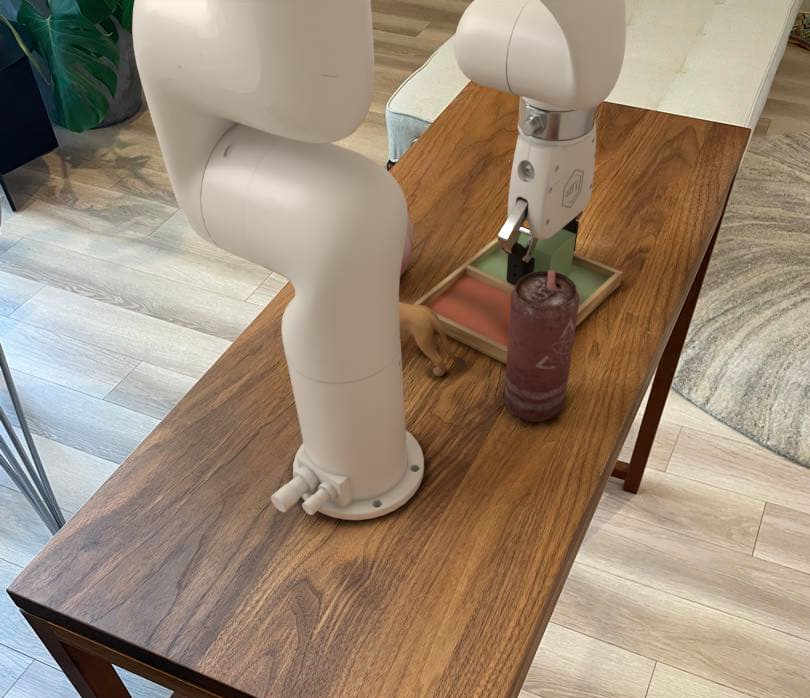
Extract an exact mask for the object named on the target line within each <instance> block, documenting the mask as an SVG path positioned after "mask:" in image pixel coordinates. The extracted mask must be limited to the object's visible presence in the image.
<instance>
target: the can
mask: <svg viewBox="0 0 810 698" xmlns="http://www.w3.org/2000/svg"><path fill="white" fill-rule="evenodd" d="M578 308H579V294H578V292H577V289H576V285H575V284H574V282H573V281H572V280H571V279H570V278H569V277H567V276H565V275H563V274H561V273H557V272H555V271H554V270H549V271H537V272H532V273H530V274H527V275H525V276H523V277H522V278H521V279H520V280H519V281H518V283H517V284H516V286H515V288H514V290H513V291H512V293H511V305H510V319H509V334H508V348H507V362H506V364H505V378H504V392H503V403H504V404H505V407H506V409H507V410H508V411H509V412H510V413H511V414H512V415H513V416H514V417H516V418H518V419H520V420H521V421H525V422H529V423H531V422H532V423H540V422H545V421H548V420H549V419H552V418H554V417H555V416H556V415H557V414H558V413H560V412H561V411H562V410H563V407H564V405H565V401H566V393H567V387H568V380H569V373H570V367H571V361H572V360H571V359H572V355H573V347H574V341H575V335H576V327H577V326H576V321H577V314H578Z"/></svg>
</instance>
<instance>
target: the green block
mask: <svg viewBox="0 0 810 698" xmlns="http://www.w3.org/2000/svg"><path fill="white" fill-rule="evenodd" d="M528 228H529V229H530V227H529V226H528ZM529 237H530V236H528V235H526V234H524V233H522V234H521V235H520V237H519V240H518V243H519V244H521V245H522V246H523V247H524V248H525V247H526V245H527V242H528V240H529ZM575 238H576V234H574V233H571V232H569V231H566V230H564V229H560V230H559V231H558V232H557V233H555V234H554V235H553V236H551V237H550V238H548V239H546V240H543V241H541V240H539V239H538V242H537V244H536V247H535V249H534V252H533V255H532V257H533V258H535V266H534V272H537V271H549V270H554V271H555V272H557V273H561V274H563V275H565V276H567V275H568V274H570V273H571V267H572V260H573V252H574V253H575V251H574V245H575Z"/></svg>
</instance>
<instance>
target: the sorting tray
mask: <svg viewBox="0 0 810 698" xmlns="http://www.w3.org/2000/svg"><path fill="white" fill-rule="evenodd" d="M521 234H522V233H521ZM507 263H508V254H506V253H505V251H504V250H503V249H502V246H501V244H500V243H499V241H498V236H497V237H495V238H494V239H493V240H491V241H490V242H489V243H488V244H486V245H485V246H484V247H483V248H481V249H480V250H479V251H478V252H476V253H475V254H474V255H473V256H471V257H470V258H469V259H467V261H465V262H464V263H463V264H461V265H460V266H459V267H458V268H456V269H455V270H454V271H453V272H452V273H450V274H449V275H448V276H447V277H445V278H444V279H442V280H441V281H440V282H439V283H437V284H436V285H435V286H434V287H432V288H431V289H430V290H429V291H427V293H425V294H424V295H422V296H421V297H420V298H419V299H418V300H416V301H415V302H414V303H413V304H412V305H423V306H427V307H428V308H430V309H431V310H432V311H434V312H435V313H436V314H437V316H438V318H439V322H440V323H441V325H442V328H443V330H444V332H445V335H446V336H447V337H449V338H452V339H454V340H456V341H458V342H459V343H462V344H463V345H466V346H467V347H470V348H472V349H474V350H476V351H478V352H480V353H482V354H485V355H486V356H488V357H490V358H492V359H494V360H497V361H498V362H500V363H503V364H505V365H506V362H507V348H508V334H509V319H510V305H511V293H512V291H513V290H514V288H515V285H513V284H510V283H508V282H507V280H506V278H507ZM622 276H623V271H621V270H618V269H615V268H614V267H611V266H608V265H606V264H604V263H601V262H599V261H597V260H593V259H591V258H589V257H587V256H585V255H581V254H579V253H577V252H575V251H574V252H573V260H572V267H571V273H570V274H568V275H567V277H569V278H570V279H571V280H572V281H573V282H574V284H575V285H576V289H577V292H578V294H579V308H578V314H577V321H576V327H577V326H579V325H580V324H581V323H582V322H583V321H584V320H585V319H586V318H587V317H588V316H589V315H590V314H591V313H592V312H593V311H595V310H596V308H597V307H599V306H600V304H602V303H603V302H604V301H605V300H606V299H607V298H608V297H609V296H611V294H613V292H615V291H616V289H617V288H619V287H620V285H621V280H622Z"/></svg>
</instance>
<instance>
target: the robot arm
mask: <svg viewBox="0 0 810 698" xmlns="http://www.w3.org/2000/svg"><path fill="white" fill-rule="evenodd" d="M371 1H372V0H134V1H133V9H132V26H131V27H132V30H131V32H132V33H131V34H132V45H133V52H134V57H135V62H136V67H137V71H138V75H139V79H140V83H141V87H142V89H143V94H144V97H145V100H146V103H147V108H148V109H149V110H148V111H149V114H150V118H151V121H152V125H153V128H154V131H155V135H156V139H157V141H158V144H159V148H160V151H161V156H162V158H163V161H164V166H165V168H166V169H165V170H166V172H167V176H168V178H169V182H170V185H171V188H172V191H173V194H174V197H175V200H176V203H177V205H178V207H179V209H180V212H181V213H182V216H183V218H184V219H185V222H187V224H188V225H189V227H190V228H191V230H193V232H194V233H196V235H198V236H199V237H200V238H201V239H203V240H204V241H206V242H207V243H209V244H210V245H212V246H215V247H216V248H219V249H220V250H223V251H225V252H227V253H229V254H232V255H234V256H236V257H239V258H241V259H243V260H246V261H248V262H250V263H253V264H256V265H257V266H261V267H262V268H264V269H266V270H268V271H270V272H273V273H274V274H277V275H279V276H281V277H282V278H285V279H286V280H287V281H288V282H289V283H290V284H291V286H292V287H293V289H294V294H295V295H294V296H293V297H292V298H291V299H290V301H289V302H288V304H287V306H286V307H285V308H284V311H283V315H282V318H281V323H280V324H281V325H280V326H281V340H282V345H283V346H282V347H283V351H284V355H285V359H286V364H287V369H288V373H289V379H290V382H291V388H292V389H291V390H292V393H293V394H292V395H293V398H294V403H295V409H296V414H297V418H298V423H299V428H300V433H301V438H302V444H301V445H300V446H299V447H298V449H297V452H296V454H295V456H294V459H293V464H292V479H291V480H290V481H289V482H287V483H286V484H283V485H282V486H281V487H280V488H279V489H278V490H277V491H275V492H274V493H273V494H272V495H271V496H270V501H271V503H272V505H273V506H274V507H275V508H276V509H277V510H278V511H280V512H281V513H286V512H287V511H289V510H290V509H291V508H292V507H293V506H294V505H295V504H297V503H298V501H300V499H301V498H302V499H303V501H304V502H302V503H301V507H302V509H303V511H304V512H305V513H306V514H307V515H309V516H314V515H315V514H316V513H317V512H318V513H321V514H322V515H326V516H328V517H331V518H335V519H340V520H347V521H361V520H369V519H370V520H371V519H375V518H378V517H383V516H385V515H387V514H390V513H392V512H394V511H396V510H397V509H399V508H400V507H402V506H403V505H405V504H406V503H408V501H409V500H410V499H411V498H413V496H414V495H415V494H416V492H417V491H418V489H420V485H421V484H422V482H423V478H424V472H425V457H424V453H423V449H422V447H421V446H420V444H419V443H420V442H419V441H418V440H417V439H416V437H414V435H413V434H412V433H411V432H410V431H408V430H407V427H406V425H407V424H406V411H405V409H406V407H405V392H404V391H405V390H404V376H403V359H402V357H403V356H402V345H401V343H402V342H401V335H400V326H399V301H400V282H401V280H400V279H401V276H400V272H401V265H402V258H403V252H404V246H405V239H406V233H407V224H408V218H409V212H408V204H407V200H406V196H405V193H404V191H403V189H402V187H401V185H400V184H399V182H398V181H397V179H396V178H395V177H394V176H393V175H392V173H390V172H389V171H388V170H387V169H386V168H385V167H384V166H382V165H381V164H380V163H378V162H376V161H375V160H373V159H371V158H370V157H367V156H365V155H364V154H361V153H359V152H357V151H354V150H352V149H350V148H347V147H344V146H340V145H338V144H334V143H336V142H340V141H342V140H344V139H347V138H349V137H351V136H352V135H353V134H354V133H355V132H356V131H357V130H358V129H359V128H360V127H361V126H362V124H363V123H364V122H365V120H366V118H367V116H368V113H369V112H370V108H371V106H372V101H373V96H374V87H375V43H374V30H373V28H374V27H373V15H372V14H373V13H372V2H371ZM626 38H627V14H626V0H473V1H472V2H471V3H470V4H469V5H468V7H466V9H465V10H464V12H463V14H462V16H461V17H460V20H459V22H458V24H457V27H456V30H455V36H454V44H453V48H454V57H455V61H456V65H457V66H458V68H459V71H461V73H462V74H463V75H464V76H465V77H466V79H468V80H469V81H471V82H473V83H474V84H476V85H479V86H482V87H484V88H488V89H491V90H495V91H499V92H502V93H505V94H509V95H513V96H516V97H517V96H518V97H519V103H518V117H517V131H518V133H519V134H518V135H517V140H516V145H515V150H514V155H513V161H512V166H511V172H510V173H511V174H510V179H509V188H508V200H507V219H506V221H505V222H504V224H503V225H502V227H501V229H500V231H499V233H498V234H497V237H498V241H499V243H500V244H501V246H502V249H503V250H504V251H505V253H506V254H508V263H507V278H506V280H507V282H508V283H510V284H513V285H515V286H516V284H517V283H518V281H519V280H520V279H521V278H522V277H523V276H525V275H527V274H530V273H532V272H534V266H535V258H533V257H532V255H533V252H534V249H535V247H536V244H537V242H538V239H539V240H541V241H543V240H546V239H548V238H550V237H551V236H553V235H554V234H555V233H557V232H558V231H559V230H560V229H564V230H566V231H569V232H571V233H574V234H576V238H575V245H574V252H576V247H577V241H578V240H577V239H578V233H579V226H580V221H579V220H581V218H582V216H583V212H584V210H585V209H586V208H587V207H588V206H589V204H590V202H591V199H592V194H593V192H592V191H593V186H594V185H593V184H594V178H595V177H594V176H595V166H596V154H597V152H596V151H597V123H596V121H597V120H596V116H597V109H598V106H599V105H600V104H602V103H603V102H604V101H605V100H607V98H608V97H609V96H610V94H611V93H612V92H613V90H614V88H615V86H616V84H617V83H618V80H619V78H620V75H621V72H622V68H623V64H624V59H625V53H626V41H627V39H626ZM525 221H526V222H527V223H528V227H527V226H524V222H525ZM529 227H530V229H529ZM521 233H524V234H526V235H528V236H530V237H529V240H528V242H527V245H526V247H525V248H524V247H523V246H522V245H521V244H519V243H518V240H519V237H520V235H521Z"/></svg>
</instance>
